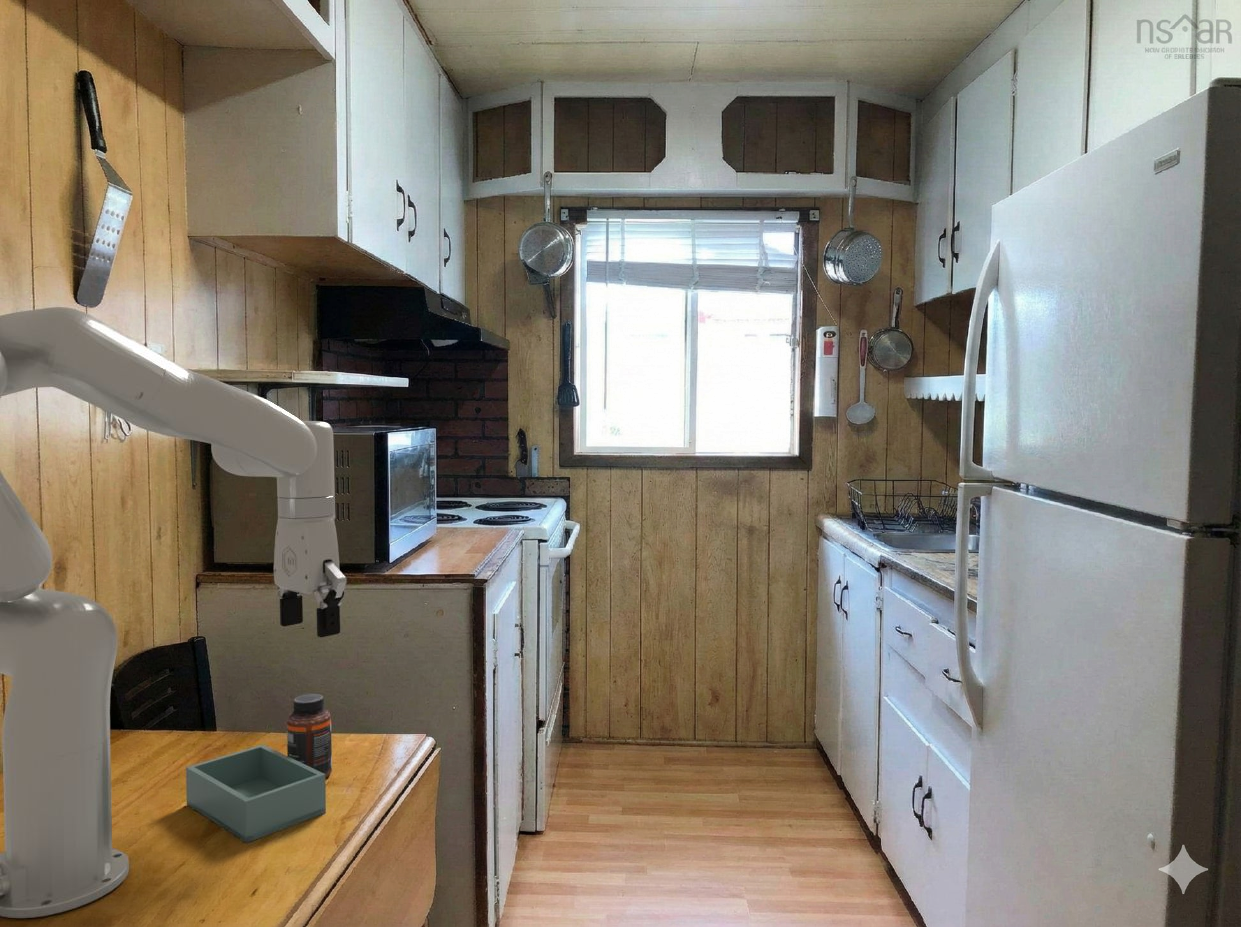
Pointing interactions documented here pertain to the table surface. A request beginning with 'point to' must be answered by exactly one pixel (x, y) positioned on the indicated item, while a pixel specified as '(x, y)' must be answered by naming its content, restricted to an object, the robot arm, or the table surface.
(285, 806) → the box
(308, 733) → the supplement bottle
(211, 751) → the table surface
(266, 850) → the table surface
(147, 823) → the table surface
